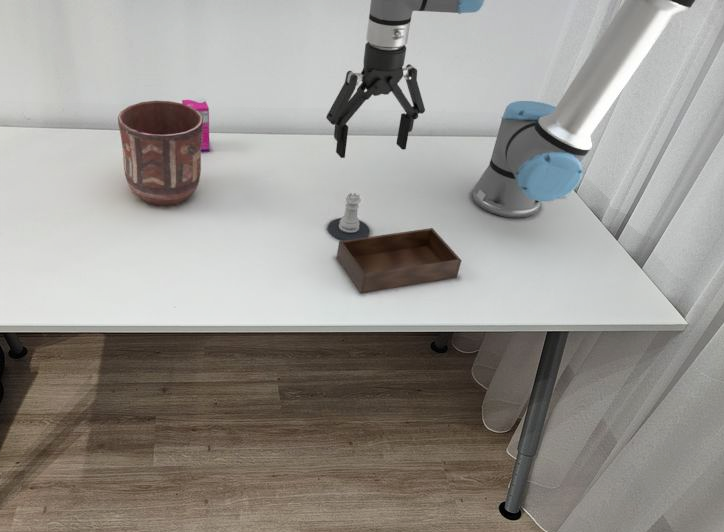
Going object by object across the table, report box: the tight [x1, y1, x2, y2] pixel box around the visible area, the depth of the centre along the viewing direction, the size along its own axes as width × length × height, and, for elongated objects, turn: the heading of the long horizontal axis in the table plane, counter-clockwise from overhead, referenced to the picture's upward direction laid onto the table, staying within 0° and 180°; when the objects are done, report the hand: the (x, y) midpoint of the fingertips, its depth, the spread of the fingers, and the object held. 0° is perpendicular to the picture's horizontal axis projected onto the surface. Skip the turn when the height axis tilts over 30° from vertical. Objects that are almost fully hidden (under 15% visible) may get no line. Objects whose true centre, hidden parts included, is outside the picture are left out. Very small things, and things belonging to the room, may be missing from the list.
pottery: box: [117, 100, 203, 207], centre depth 159 cm, size 18×18×18 cm
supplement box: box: [181, 97, 210, 153], centre depth 179 cm, size 6×6×12 cm
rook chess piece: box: [339, 192, 362, 233], centre depth 154 cm, size 4×4×8 cm
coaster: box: [327, 217, 371, 241], centre depth 157 cm, size 9×9×1 cm
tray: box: [335, 227, 462, 295], centre depth 146 cm, size 21×12×4 cm, turn 108°
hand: (370, 150), depth 148 cm, fingers open, 13 cm apart
